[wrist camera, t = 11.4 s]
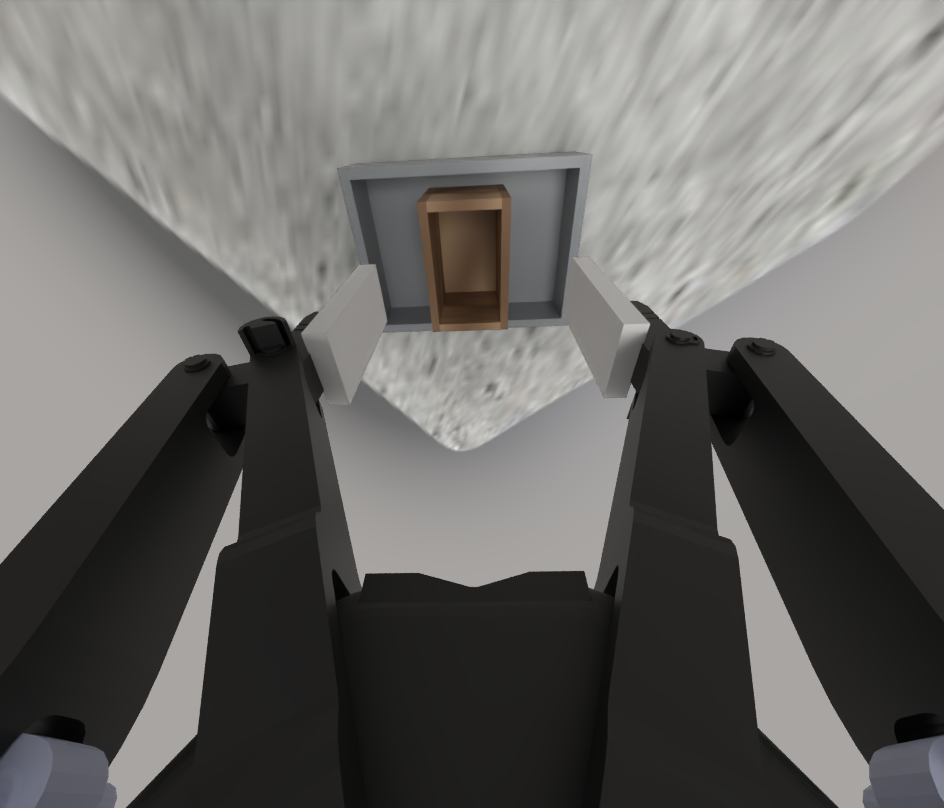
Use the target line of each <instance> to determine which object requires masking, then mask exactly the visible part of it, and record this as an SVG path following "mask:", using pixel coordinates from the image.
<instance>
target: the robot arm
mask: <svg viewBox="0 0 944 808" xmlns="http://www.w3.org/2000/svg"><path fill="white" fill-rule="evenodd" d="M564 317H565V319H566V321H567V323H568V325H569V327H570V329H571V331H572V333H573V335H574V337H575V339H576V341H577V344H578V346H579V348H580V350H581V352H582V354H583V356H584V358H585V360H586V362H587V364H588V366H589V368H590V370H591V372H592V374H593V377H594V379H595V381H596V383H597V385H598V387H599V389H600V391H601V393H602V395H603V397H604V398H626V397H627V394H628V391H629V388H630V385H631V383H632V385H633V387H634V388H635V390H636V393H635V396H634V399H633V402H632V405H631V407H630V411H629V414H628V416H627V419H629V422H628V427H627V432H626V437H625V442H624V447H623V452H622V457H621V462H620V467H619V472H618V477H617V482H616V487H615V492H614V497H613V502H612V508H611V512H610V518H609V522H608V528H607V533H606V538H605V543H604V548H603V553H602V558H601V563H600V568H599V572H598V577H597V581H596V584H595V587H594V589H591V588H588V584H587V581H586V576H585V572H584V571H553V572H552V571H551V572H527V573H524V574H521V575H517V576H514V577H510V578H507V579H504V580H501V581H497V582H494V583H490V584H487V585H483V586H480V587H468V586H464V585H461V584H457V583H453V582H450V581H446V580H442V579H439V578H435V577H431V576H428V575H424V574H420V573H384V574H383V573H379V574H365V579H364V583H363V587H361V585H360V581H359V578H358V573H357V569H356V564H355V559H354V555H353V550H352V546H351V541H350V536H349V531H348V526H347V522H346V517H345V513H344V508H343V503H342V498H341V494H340V489H339V484H338V480H337V475H336V470H335V465H334V461H333V456H332V452H331V447H330V442H329V437H328V432H327V428H326V423H325V418H324V414H323V409H322V407H321V404H320V402H319V398H320V396H321V394H322V393H323V392H324V394H325V397H326V400H327V402H328V404H329V405H331V404H332V405H335V404H350V403H351V401H352V398H353V396H354V394H355V392H356V390H357V387H358V385H359V383H360V381H361V379H362V376H363V374H364V372H365V370H366V367H367V365H368V363H369V361H370V358H371V356H372V354H373V352H374V350H375V347H376V345H377V343H378V341H379V338H380V336H381V334H382V332H383V329H384V327H385V325H386V323H387V317H386V312H385V307H384V302H383V298H382V293H381V288H380V283H379V278H378V273H377V268H376V264H371V265H358V267H357V268H356V269H355V270H354V271H353V272H352V274H351V275H350V276H349V277H348V278H347V280H346V281H345V282H344V283H343V284H342V286H341V287H340V288H339V289H338V290H337V291H336V293H335V294H334V295H333V296H332V297H331V299H330V300H329V301H328V302H327V303H326V305H325V306H324V307H323V308H322V309H321V310H320V312H314V313H312V314H310V315H308V316H306V317H305V318H304V319H303V320H302V321H301V322H300V323H299V325H297V327H296V328H295V329H294V331H292V332H291V331H290V328H289V326H288V323H287V321H286V320H285V318H282V317H264V318H260V319H256V320H253V321H250V322H248V323H246V324H244V325H243V326H241V327H240V328H239V330H238V333H239V335H240V337H241V339H242V341H243V343H244V344H245V347H246V348H247V350H248V352H249V354H250V362H248V363H244V364H238V365H233V366H227V364H226V363H225V361H224V360H223V358H222V357H221V355H218V354H204V355H195V356H193V357H189V358H187V359H185V361H183V362H181V363H179V364H178V365H176V366H175V367H174V368H173V369H172V370H171V371H170V372H169V373H168V374H167V376H166V377H165V378H164V379H163V380H162V381H161V383H159V385H158V386H157V387H156V388H155V389H154V390H153V391H152V393H151V394H150V395H149V396H148V397H147V398H146V399H145V401H144V402H143V403H142V404H141V405H140V406H139V407H138V408H137V410H136V411H135V412H134V413H133V414H132V415H131V416H130V418H129V419H128V420H127V421H126V422H125V423H124V424H123V426H122V427H121V428H120V429H119V430H118V431H117V432H116V434H115V435H114V436H113V437H112V438H111V439H110V440H109V441H108V443H107V444H106V445H105V446H104V447H103V448H102V449H101V451H100V452H99V453H98V454H97V455H96V456H95V457H94V458H93V460H92V461H91V462H90V463H89V464H88V465H87V466H86V468H85V469H84V470H83V471H82V472H81V473H80V474H79V476H78V477H77V478H76V479H75V480H74V481H73V482H72V484H71V485H70V486H69V487H68V488H67V489H66V490H65V492H64V493H63V494H62V495H61V496H60V497H59V498H58V499H57V501H56V502H55V503H54V504H53V505H52V506H51V507H50V508H49V510H48V511H47V512H46V513H45V514H44V515H43V516H42V518H41V519H40V520H39V521H38V522H37V523H36V525H35V526H34V527H33V528H32V529H31V530H30V531H29V532H28V534H27V535H26V536H25V537H24V538H23V539H22V540H21V541H20V543H19V544H18V545H17V546H16V547H15V548H14V550H13V551H12V552H11V553H10V554H9V555H8V556H7V558H6V559H5V560H4V561H3V562H2V563H1V564H0V808H114V806H115V802H116V799H117V795H116V788H115V787H114V786H113V785H111V784H110V783H107V780H108V767H109V766H110V764H111V762H112V761H113V759H114V758H115V756H116V755H117V753H118V751H119V749H120V748H121V746H122V744H123V743H124V741H125V739H126V737H127V735H128V734H129V732H130V730H131V728H132V726H133V724H134V723H135V721H136V719H137V717H138V715H139V713H140V711H141V710H142V708H143V706H144V704H145V702H146V699H147V697H148V695H149V692H150V690H151V688H152V686H153V684H154V682H155V680H156V678H157V675H158V673H159V671H160V669H161V666H162V664H163V661H164V659H165V656H166V654H167V651H168V649H169V646H170V644H171V642H172V639H173V637H174V634H175V632H176V629H177V627H178V625H179V622H180V620H181V617H182V615H183V612H184V609H185V608H186V605H187V603H188V600H189V598H190V595H191V593H192V590H193V588H194V586H195V583H196V581H197V578H198V576H199V573H200V571H201V568H202V566H203V564H204V561H205V559H206V556H207V554H208V551H209V549H210V547H211V544H212V541H213V539H214V537H215V534H216V532H217V529H218V527H219V524H220V522H221V520H222V517H223V515H224V512H225V510H226V507H227V505H228V502H229V500H230V498H231V495H232V493H233V490H234V488H235V485H236V483H237V481H238V478H239V476H240V473H241V471H242V468H243V475H242V490H241V505H240V519H239V535H238V540H237V542H236V543H234V544H231V545H228V546H226V547H224V548H223V549H222V551H221V552H220V553H219V557H218V561H217V566H216V575H215V583H214V593H213V601H212V610H211V618H210V627H209V636H208V645H207V655H206V662H205V671H204V680H203V689H202V698H201V707H200V716H199V724H198V733H197V735H196V736H195V737H194V738H193V739H192V740H191V741H190V742H189V743H188V744H187V745H186V747H184V748H183V749H182V750H181V751H180V752H179V753H178V754H177V756H176V757H175V758H174V759H173V760H172V761H171V762H170V763H169V764H168V765H167V766H166V767H165V768H164V769H163V770H162V771H161V772H160V773H159V774H158V775H157V776H156V777H155V778H154V779H153V780H152V781H151V782H150V783H149V784H148V786H147V787H146V788H145V789H144V790H143V791H142V792H141V793H140V794H139V795H138V796H137V797H136V798H135V799H134V800H133V801H132V802H131V803H130V804H129V805H128V806H127V807H126V808H838V807H837V806H836V805H835V804H834V803H833V802H832V801H831V800H830V799H829V798H828V797H827V796H826V795H825V794H824V793H823V792H822V791H821V790H820V789H819V788H818V787H817V786H816V785H815V784H814V783H813V782H812V781H811V780H810V779H809V778H808V777H807V776H806V775H805V774H804V773H803V772H802V771H801V770H800V769H799V768H798V767H797V766H796V765H795V764H794V763H793V762H792V761H791V760H790V759H789V758H788V757H787V756H786V755H785V754H784V753H783V752H782V751H781V750H780V749H779V748H778V747H777V746H776V745H775V744H774V743H773V742H772V741H771V740H770V739H769V738H768V737H767V736H766V735H764V733H762V732H761V730H760V729H759V728H758V727H757V718H756V710H755V701H754V692H753V683H752V674H751V665H750V657H749V648H748V639H747V630H746V621H745V612H744V605H743V595H742V586H741V578H740V568H739V560H738V555H737V551H736V547H735V545H734V544H733V543H732V541H731V540H730V539H727V538H725V537H722V536H719V535H718V530H717V518H716V504H715V490H714V476H713V461H712V447H711V442H712V445H713V447H714V449H715V451H716V453H717V456H718V458H719V460H720V462H721V464H722V467H723V469H724V471H725V473H726V475H727V478H728V480H729V482H730V484H731V486H732V489H733V491H734V493H735V495H736V498H737V500H738V502H739V504H740V507H741V509H742V511H743V513H744V515H745V517H746V520H747V522H748V524H749V527H750V529H751V531H752V533H753V535H754V538H755V540H756V542H757V544H758V547H759V549H760V551H761V553H762V555H763V558H764V560H765V562H766V564H767V566H768V569H769V571H770V573H771V575H772V578H773V580H774V582H775V584H776V586H777V589H778V591H779V593H780V595H781V597H782V600H783V601H784V604H785V606H786V609H787V610H788V613H789V615H790V617H791V620H792V622H793V624H794V626H795V628H796V630H797V633H798V635H799V637H800V640H801V642H802V644H803V646H804V648H805V651H806V653H807V655H808V657H809V660H810V662H811V664H812V666H813V668H814V670H815V672H816V674H817V676H818V678H819V680H820V682H821V684H822V686H823V688H824V690H825V692H826V694H827V696H828V698H829V700H830V702H831V704H832V706H833V708H834V709H835V711H836V712H837V714H838V716H839V718H840V719H841V721H842V723H843V724H844V726H845V728H846V729H847V731H848V733H849V734H850V736H851V738H852V740H853V741H854V743H855V745H856V746H857V748H858V749H859V751H860V752H861V754H862V755H863V757H864V758H865V760H866V761H867V763H868V764H869V775H870V776H869V778H870V782H871V785H870V786H869V787H867V788H866V789H865V790H864V791H863V804H864V806H865V808H944V509H943V508H942V507H941V506H939V504H938V503H937V502H936V501H935V500H934V499H933V498H932V497H931V496H930V495H929V494H928V493H927V492H926V491H925V490H924V489H923V488H922V487H921V486H920V485H919V484H918V483H917V482H916V481H915V480H914V479H913V478H912V477H911V476H910V475H909V474H908V472H906V471H905V469H904V468H903V467H902V466H901V465H900V464H899V463H898V462H897V461H896V460H895V459H894V458H893V457H892V456H891V455H890V454H889V453H888V452H887V451H886V450H885V449H884V448H883V447H882V446H881V445H880V444H879V443H878V442H877V441H876V440H875V439H874V438H873V437H872V436H871V435H870V434H869V433H868V431H867V430H866V429H865V428H864V427H863V426H862V425H861V424H860V423H859V422H858V421H857V420H856V419H855V418H854V417H853V416H852V415H851V414H850V413H849V412H848V411H847V410H846V409H845V408H844V407H843V406H842V405H841V404H840V403H839V402H838V401H837V400H836V399H835V398H834V397H833V396H832V395H831V394H830V393H829V392H828V390H827V389H826V388H825V387H824V386H822V384H821V383H820V382H819V381H818V380H817V379H816V378H815V377H814V376H813V375H812V374H811V373H810V372H809V371H808V370H807V369H806V368H805V367H804V366H803V365H802V364H801V363H800V362H799V361H798V360H797V359H796V358H795V357H794V356H793V355H792V354H791V353H790V352H789V351H788V350H787V349H786V348H784V347H783V346H781V345H779V344H777V343H775V342H774V341H772V340H766V339H764V338H741V339H737V340H736V341H735V342H734V344H733V346H732V348H731V350H730V352H728V351H720V350H712V349H706V348H705V347H704V342H703V340H702V339H701V338H700V337H699V336H697V335H695V334H693V333H691V332H687V331H683V330H678V329H670V328H669V327H668V326H667V325H666V324H665V323H664V322H663V321H662V320H661V319H659V317H658V316H657V315H656V314H654V312H653V311H652V310H651V309H650V308H649V307H648V306H646V305H644V304H642V303H640V302H638V301H629V300H628V299H627V297H626V296H625V295H624V294H623V293H622V292H621V291H620V290H619V289H618V288H617V286H616V285H615V284H614V283H613V282H612V281H611V280H610V279H609V278H608V277H607V275H606V274H605V273H604V272H603V271H602V270H601V269H600V268H599V267H598V266H597V264H596V263H595V262H594V261H593V260H592V259H591V258H590V257H579V258H572V265H571V272H570V279H569V285H568V292H567V299H566V306H565V313H564Z"/></svg>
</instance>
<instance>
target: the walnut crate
mask: <svg viewBox="0 0 944 808" xmlns="http://www.w3.org/2000/svg"><path fill="white" fill-rule="evenodd" d="M417 209H418V217H419V225H420V233H421V241H422V249H423V257H424V265H425V273H426V281H427V289H428V297H429V305H430V313H431V322H432V330H433V332H441V331H470V330H499V329H508V305H509V269H510V232H511V196H510V194H509V193H508V191H507V189H506V188H505V186H504V184H496V185H475V186H455V187H434V188H428V190H427V191H426V192H425V193H424V194H423V195H422V197H421V198H420V199H419V200H418V201H417Z"/></svg>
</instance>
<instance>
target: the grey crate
mask: <svg viewBox="0 0 944 808" xmlns="http://www.w3.org/2000/svg"><path fill="white" fill-rule="evenodd" d="M591 161H592V154H587V153H581V152H558V153H540V154H522V155H504V156H486V157H468V158H450V159H431V160H413V161H395V162H377V163H359V164H353V165H349V166H345V167H341V168H337V170H338V174H339V178H340V183H341V187H342V191H343V195H344V199H345V203H346V207H347V212H348V216H349V220H350V224H351V228H352V232H353V236H354V241H355V245H356V249H357V253H358V257H359V261H360V265H371V264H376V268H377V273H378V278H379V283H380V288H381V293H382V298H383V302H384V307H385V312H386V317H387V323H386V325H385V327H384V329H383V332H382V333H384V332H410V331H433V330H432V322H431V313H430V305H429V297H428V289H427V281H426V273H425V265H424V257H423V249H422V241H421V233H420V225H419V217H418V209H417V201H418V200H419V199H420V198H421V197H422V195H423V194H424V193H425V192H426V191H427V190H428V188H434V187H455V186H475V185H496V184H504V186H505V188H506V189H507V191H508V193H509V194H510V196H511V232H510V269H509V305H508V328H514V327H540V326H566V325H568V323H567V321H566V319H565V317H564V313H565V306H566V299H567V292H568V285H569V279H570V272H571V265H572V258H578V252H579V245H580V238H581V231H582V224H583V217H584V210H585V203H586V196H587V189H588V182H589V175H590V168H591Z"/></svg>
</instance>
